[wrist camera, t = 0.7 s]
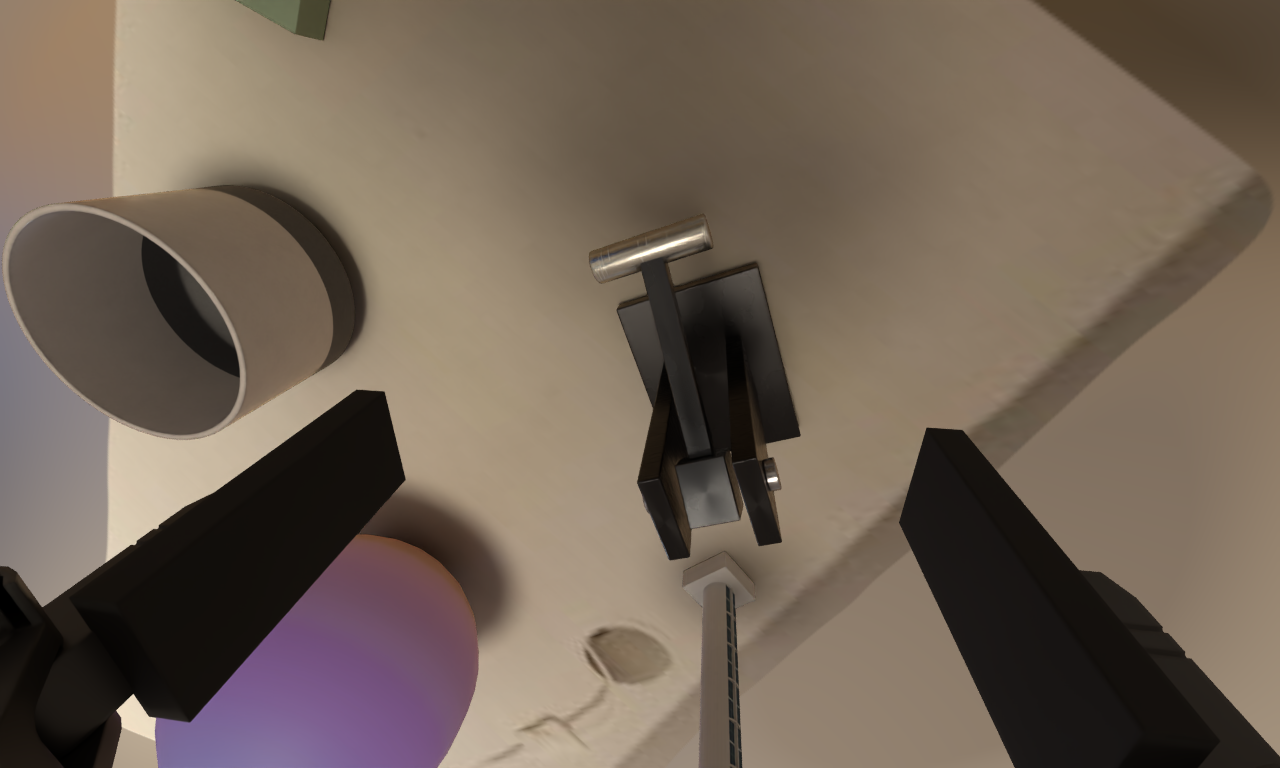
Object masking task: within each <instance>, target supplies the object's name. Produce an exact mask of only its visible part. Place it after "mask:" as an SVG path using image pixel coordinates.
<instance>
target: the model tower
mask: <svg viewBox="0 0 1280 768" xmlns="http://www.w3.org/2000/svg"><path fill="white" fill-rule="evenodd" d="M682 587H683V588H684V589H685V590H686V591H687V592H688V593H689V594H690V595H691V597H692V598H693V599H694V600H695V601H696V602H697V603H698V604H699V605H700V606H701V607H702V608H703V620H702V659H701V698H700V738H699V740H700V741H699V768H742V750H741V727H740V704H739V680H738V657H737V634H736V611H735V609H737V608H739V607H741V606H744V605H746V604H748V603H750V602H753V601H755V600H756V596H755V585H754V583H753V582H752V581H751V579H750V578H749V577H748V576H747V575H746V574H745V573H744V572H743V571H742V569H741V568H740V567H739V566H738V565H737V564H736V563H735V562H734V560H733V559H732V558H731V557H730V556H729V555H728V554H727V553H726V552H725V551H724V552H722V553H720V554H718V555H716V556H714V557H712V558H710V559H708V560H706V561H704V562H702V563H700V564H697V565H695V566H693V567H691V568H689V569H687V570H685V571H683V585H682Z"/></svg>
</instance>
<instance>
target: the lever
mask: <svg viewBox="0 0 1280 768" xmlns="http://www.w3.org/2000/svg"><path fill="white" fill-rule="evenodd" d="M713 246H714V245H713V240H712V236H711V232H710V228H709V225H708V221H707V218H706V216H705V214H699V215H696V216H693V217H691V218H688V219H685V220H682V221H679V222H676V223H673V224H670V225H667V226H664V227H661V228H658V229H655V230H652V231H649V232H646V233H643V234H640V235H637V236H634V237H631V238H628V239H625V240H622V241H619V242H616V243H613V244H610V245H608V246H605V247H602V248H599V249H596V250H593V251H591V252H590V253H589V263H590V267H591V270H592V273H593V275H594V277H595V279H596V280H597V281H598V283H601V284H602V283H606V282H609V281H612V280H615V279H618V278H621V277H624V276H628V275H631V274H634V273H637V272H640V271H642V275H643V279H644V283H645V287H646V291H647V295H648V299H649V303H650V306H651V310H652V314H653V318H654V322H655V326H656V330H657V334H658V338H659V342H660V346H661V350H662V354H663V358H664V362H665V366H666V370H667V374H668V378H669V382H670V386H671V390H672V394H673V398H674V402H675V406H676V410H677V414H678V418H679V422H680V426H681V430H682V434H683V438H684V442H685V446H686V450H687V454H688V456H685V457H683V458H682V459H681V460H680V461H679V462H678V463H677V464H676V465H675V471H676V475H677V479H678V483H679V487H680V491H681V495H682V499H683V503H684V507H685V511H686V515H687V519H688V523H689V527H690V529H694V528H700V527H705V526H711V525H716V524H722V523H728V522H733V521H739V520H740V518H741V514H742V510H743V501H742V497H741V493H740V489H739V485H738V481H737V478H736V474H735V471H734V468H733V465H732V457H731V453H730V450H729V447H727V448H722V449H717V450H715V448H714V444H713V440H712V436H711V432H710V428H709V424H708V420H707V416H706V412H705V408H704V404H703V400H702V396H701V392H700V388H699V384H698V380H697V376H696V373H695V369H694V365H693V361H692V357H691V353H690V349H689V345H688V341H687V337H686V333H685V329H684V325H683V321H682V317H681V313H680V309H679V305H678V301H677V297H676V294H675V290H674V286H673V282H672V278H671V274H670V270H669V266H668V262H672V261H675V260H678V259H681V258H684V257H687V256H690V255H694V254H697V253H700V252H703V251H706V250H709V249H712V248H713Z"/></svg>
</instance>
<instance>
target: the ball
mask: <svg viewBox="0 0 1280 768" xmlns="http://www.w3.org/2000/svg"><path fill="white" fill-rule="evenodd" d="M478 654H479V652H478V640H477V629H476V623H475V618H474V614H473V611H472V609H471V607H470V604H469V602H468V600H467V598H466V596H465V594H464V592H463V590H462V588H461V586H460V584H459V582H458V581H457V580H456V579H455V578H454V577H453V576H452V575H451V574H450V573H449V572H448V570H447V569H446V568H445V567H444V566H443V565H442V564H441V563H440V562H439V561H438V560H436V559H435V558H434V557H432V556H431V555H429V554H428V553H426V552H425V551H423V550H422V549H420V548H418V547H415V546H413V545H410V544H408V543H405V542H403V541H400V540H397V539H393V538H387V537H381V536H375V535H369V534H363V535H356V536H355V537H354V538H353V540H352V541H351V542H350V543H349V544H348V545H347V546H346V548H345V549H344V550H343V551H342V552H341V553H340V554H339V555H338V557H337V558H336V559H335V560H334V561H333V562H332V563H331V564H330V566H329V567H328V568H327V569H326V570H325V571H324V572H323V573H322V575H321V576H320V577H319V578H318V579H317V580H316V581H315V582H314V584H313V585H312V586H311V587H310V588H309V589H308V590H307V592H306V593H305V594H304V595H303V596H302V597H301V598H300V599H299V601H298V602H297V603H296V604H295V605H294V606H293V607H292V608H291V610H290V611H289V612H288V613H287V614H286V615H285V616H284V617H283V619H282V620H281V621H280V622H279V623H278V624H277V625H276V626H275V628H274V629H273V630H272V631H271V632H270V633H269V634H268V636H267V637H266V638H265V639H264V640H263V641H262V642H261V643H260V645H259V646H258V647H257V648H256V649H255V650H254V651H253V652H252V654H251V655H250V656H249V657H248V658H247V659H246V660H245V661H244V663H243V664H242V665H241V666H240V667H239V668H238V669H237V670H236V672H235V673H234V674H233V675H232V676H231V677H230V678H229V680H228V681H227V682H226V683H225V684H224V685H223V686H222V687H221V689H220V690H219V691H218V692H217V693H216V694H215V695H214V696H213V698H212V699H211V700H210V701H209V702H208V703H207V704H206V705H205V707H204V708H203V709H202V710H201V711H200V712H199V713H198V714H197V716H196V717H195V718H194V719H193V720H192V721H191V722H190V723H188V722H182V721H175V720H169V719H162V718H156V726H155V739H156V751H157V760H158V768H437V767H438V766H439V764H440V763H441V761H442V760H443V759H444V757H445V756H446V754H447V753H448V751H449V749H450V747H451V745H452V743H453V741H454V739H455V737H456V735H457V733H458V731H459V729H460V727H461V725H462V722H463V720H464V718H465V716H466V714H467V711H468V709H469V706H470V703H471V700H472V697H473V694H474V691H475V686H476V681H477V675H478Z"/></svg>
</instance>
